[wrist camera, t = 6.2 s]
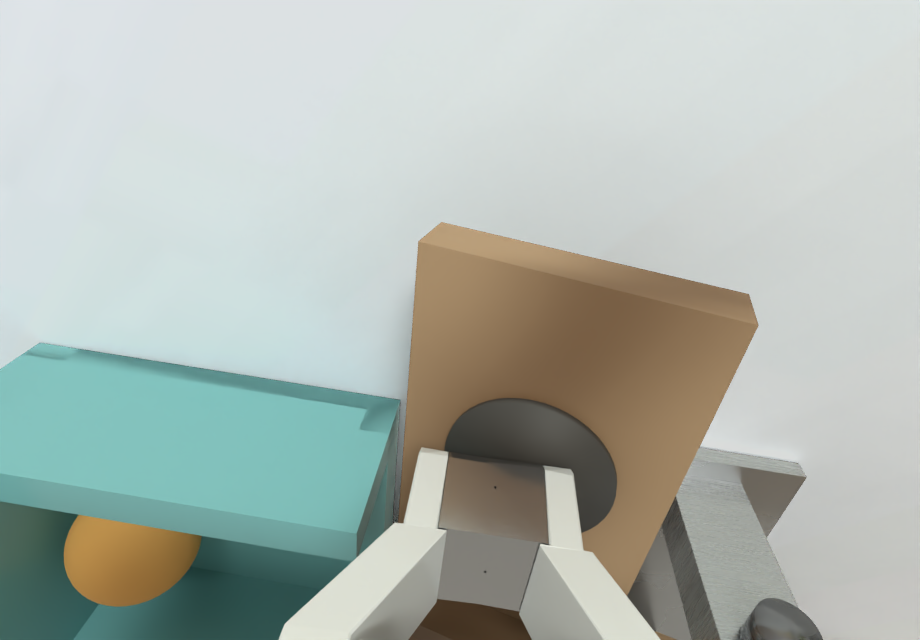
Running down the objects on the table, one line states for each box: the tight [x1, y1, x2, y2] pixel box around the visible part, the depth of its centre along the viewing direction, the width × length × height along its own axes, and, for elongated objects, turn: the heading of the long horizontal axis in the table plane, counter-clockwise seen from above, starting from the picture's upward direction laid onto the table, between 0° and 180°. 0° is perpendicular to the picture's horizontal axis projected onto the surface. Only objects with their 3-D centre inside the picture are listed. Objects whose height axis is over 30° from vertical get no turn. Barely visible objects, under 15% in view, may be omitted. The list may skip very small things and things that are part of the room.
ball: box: [64, 515, 202, 607], centre depth 15 cm, size 4×4×4 cm
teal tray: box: [0, 343, 400, 640], centre depth 15 cm, size 11×10×6 cm
